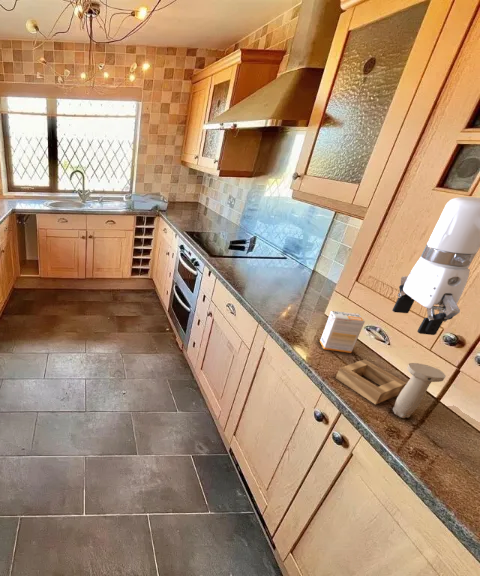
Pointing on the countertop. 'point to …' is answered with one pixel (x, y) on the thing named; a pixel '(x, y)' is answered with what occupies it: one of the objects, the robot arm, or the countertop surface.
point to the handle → (416, 388)
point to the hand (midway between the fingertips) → (412, 322)
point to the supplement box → (341, 331)
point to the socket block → (387, 382)
